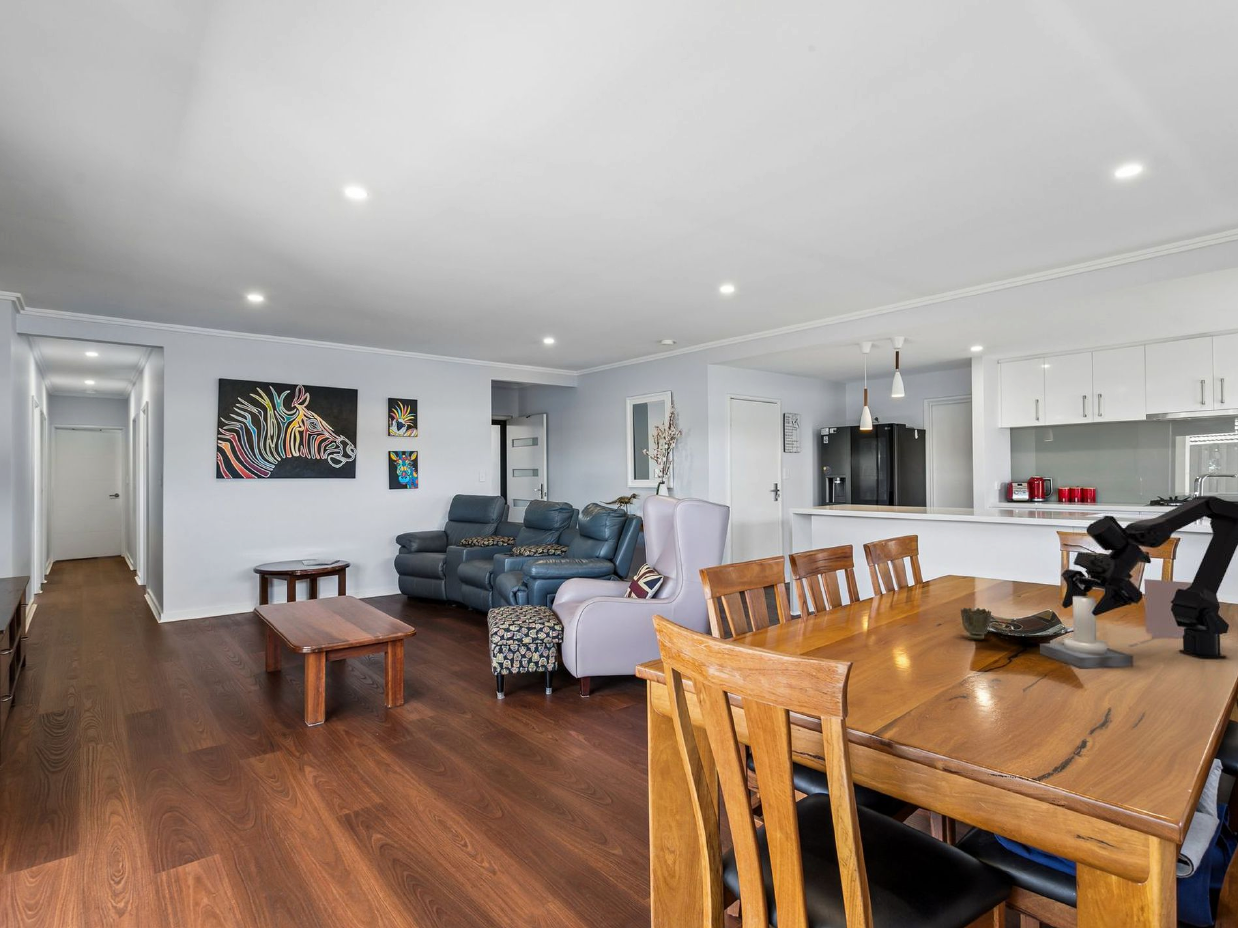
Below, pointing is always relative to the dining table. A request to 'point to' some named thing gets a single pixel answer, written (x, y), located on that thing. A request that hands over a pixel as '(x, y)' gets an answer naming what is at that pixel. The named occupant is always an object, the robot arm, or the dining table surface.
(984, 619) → the cup
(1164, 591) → the greeting card
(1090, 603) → the cream cylindrical piece
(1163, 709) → the dining table surface
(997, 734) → the dining table surface
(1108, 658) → the grey block
